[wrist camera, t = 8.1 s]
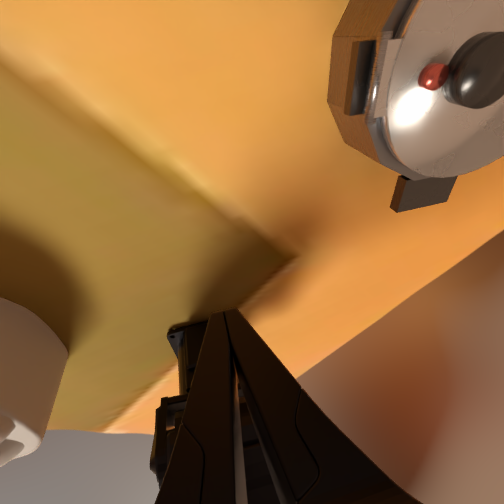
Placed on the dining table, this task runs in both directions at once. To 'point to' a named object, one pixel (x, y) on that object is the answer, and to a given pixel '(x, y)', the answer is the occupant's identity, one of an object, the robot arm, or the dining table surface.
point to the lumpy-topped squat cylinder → (26, 379)
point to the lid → (441, 86)
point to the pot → (355, 96)
